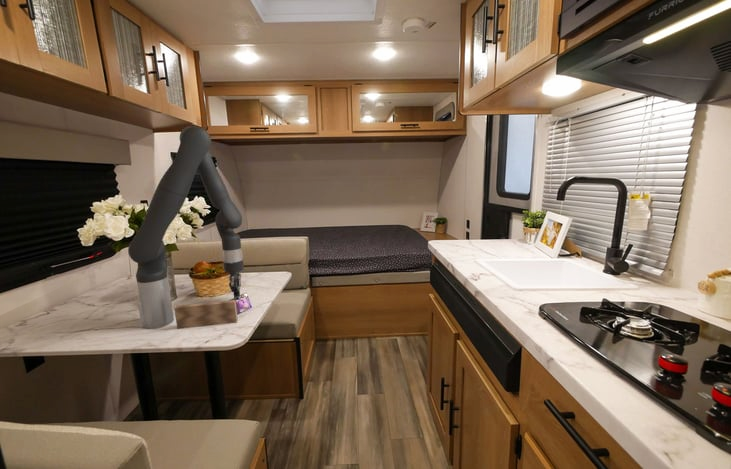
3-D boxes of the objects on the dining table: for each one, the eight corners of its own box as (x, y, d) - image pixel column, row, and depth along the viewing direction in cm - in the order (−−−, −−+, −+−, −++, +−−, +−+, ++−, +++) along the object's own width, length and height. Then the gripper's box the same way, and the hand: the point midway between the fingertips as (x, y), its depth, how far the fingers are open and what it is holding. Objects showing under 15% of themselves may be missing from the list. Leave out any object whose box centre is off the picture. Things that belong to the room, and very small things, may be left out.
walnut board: (177, 329, 111) (174, 308, 110) (179, 326, 113) (176, 305, 112) (236, 322, 115) (234, 302, 113) (237, 320, 117) (235, 300, 115)
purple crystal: (229, 300, 119) (247, 292, 127) (221, 302, 122) (239, 294, 130) (235, 316, 120) (253, 307, 127) (227, 318, 122) (244, 309, 130)
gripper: (226, 256, 133) (231, 294, 136) (219, 264, 120) (224, 306, 123) (245, 254, 134) (249, 292, 138) (240, 263, 122) (244, 304, 125)
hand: (237, 299), depth 130 cm, fingers closed
